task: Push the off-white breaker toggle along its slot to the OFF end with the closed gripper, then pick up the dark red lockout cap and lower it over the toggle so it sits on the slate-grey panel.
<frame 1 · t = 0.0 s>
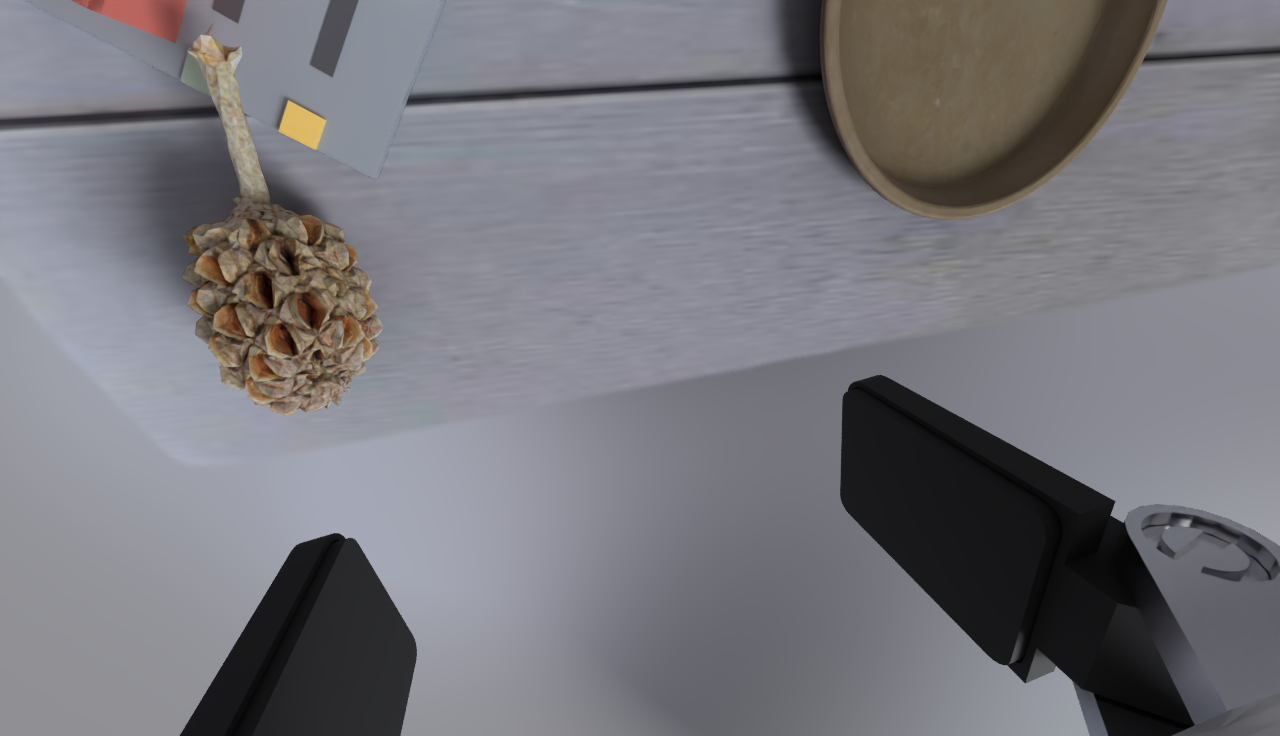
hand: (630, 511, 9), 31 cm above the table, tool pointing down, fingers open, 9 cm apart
pine cone: (303, 234, 32), on the table
plant saucer: (959, 22, 38), on the table
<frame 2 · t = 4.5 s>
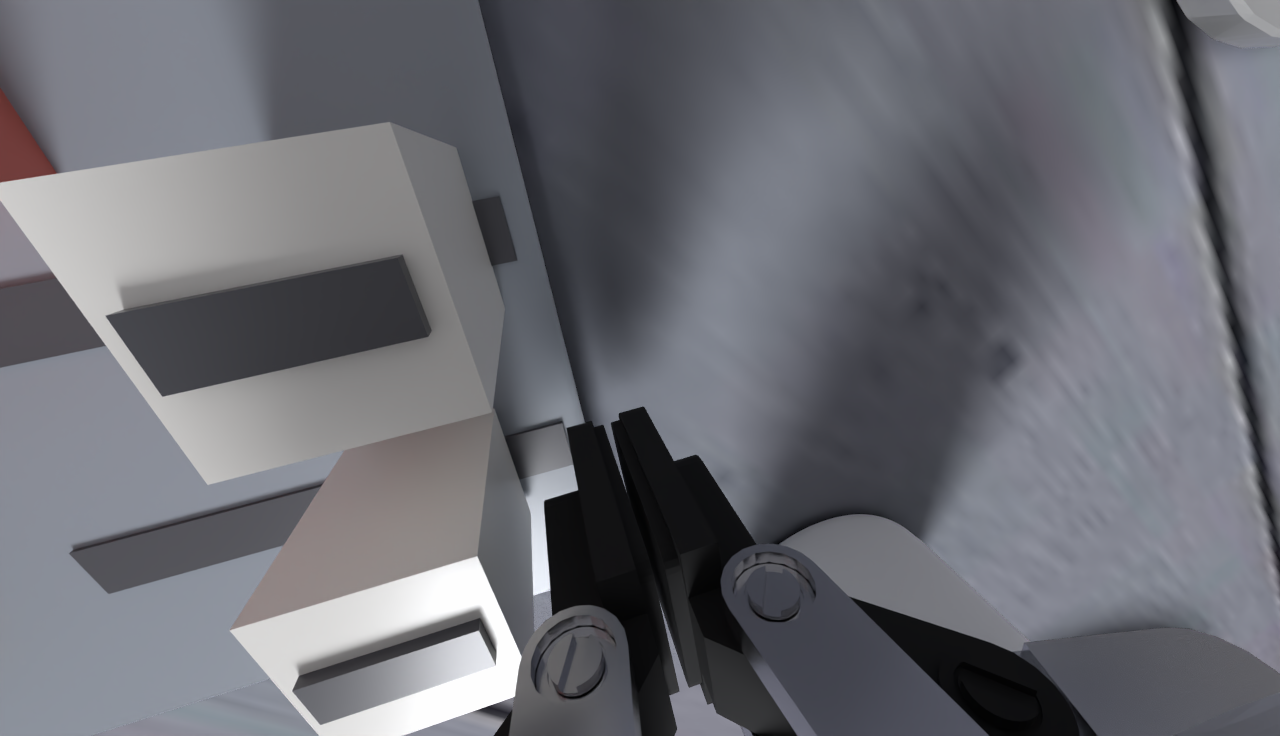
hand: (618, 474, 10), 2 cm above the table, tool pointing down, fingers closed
breaker panel: (155, 320, 9), on the table
breaker toggle: (429, 556, 8), point 3 cm above the table, slide at 0.8 cm, touching gripper
pill bottle: (816, 587, 17), on the table
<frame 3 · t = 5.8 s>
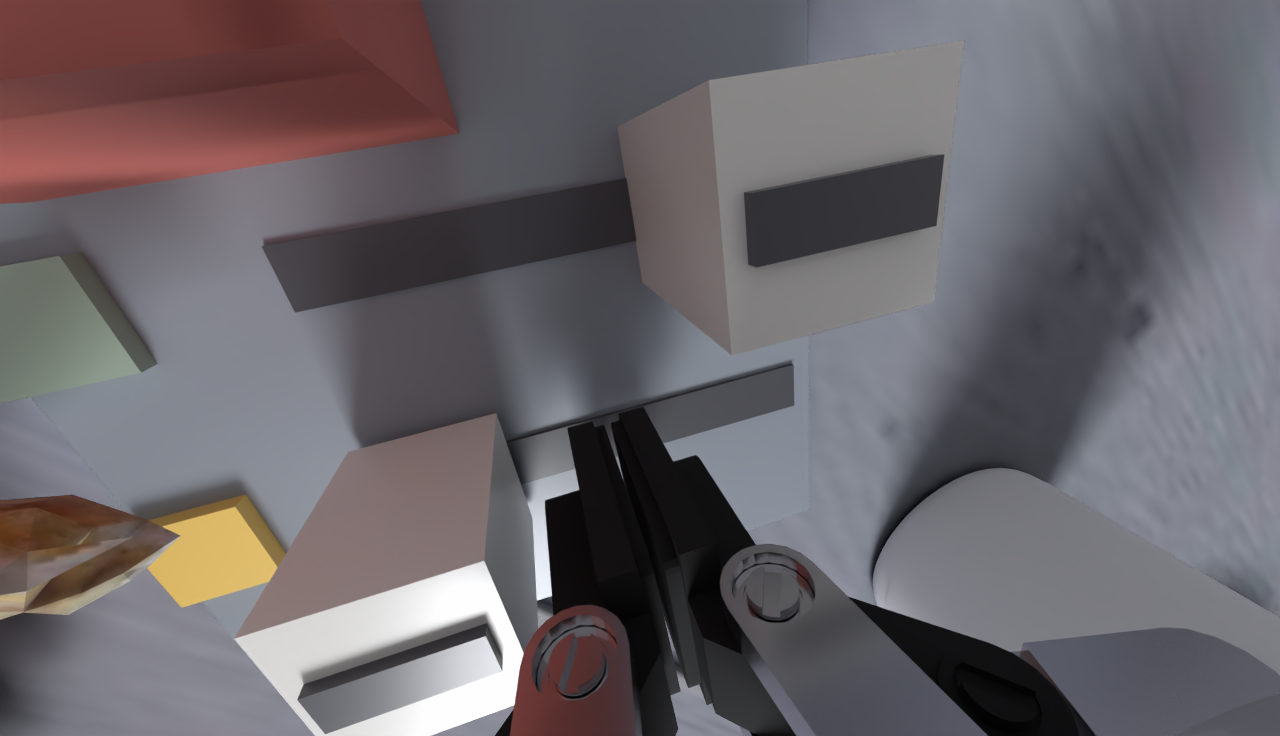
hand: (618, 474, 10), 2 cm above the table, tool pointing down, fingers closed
breaker panel: (466, 262, 10), on the table
breaker toggle: (432, 562, 8), point 4 cm above the table, slide at 6.7 cm, touching gripper
pill bottle: (947, 542, 18), on the table
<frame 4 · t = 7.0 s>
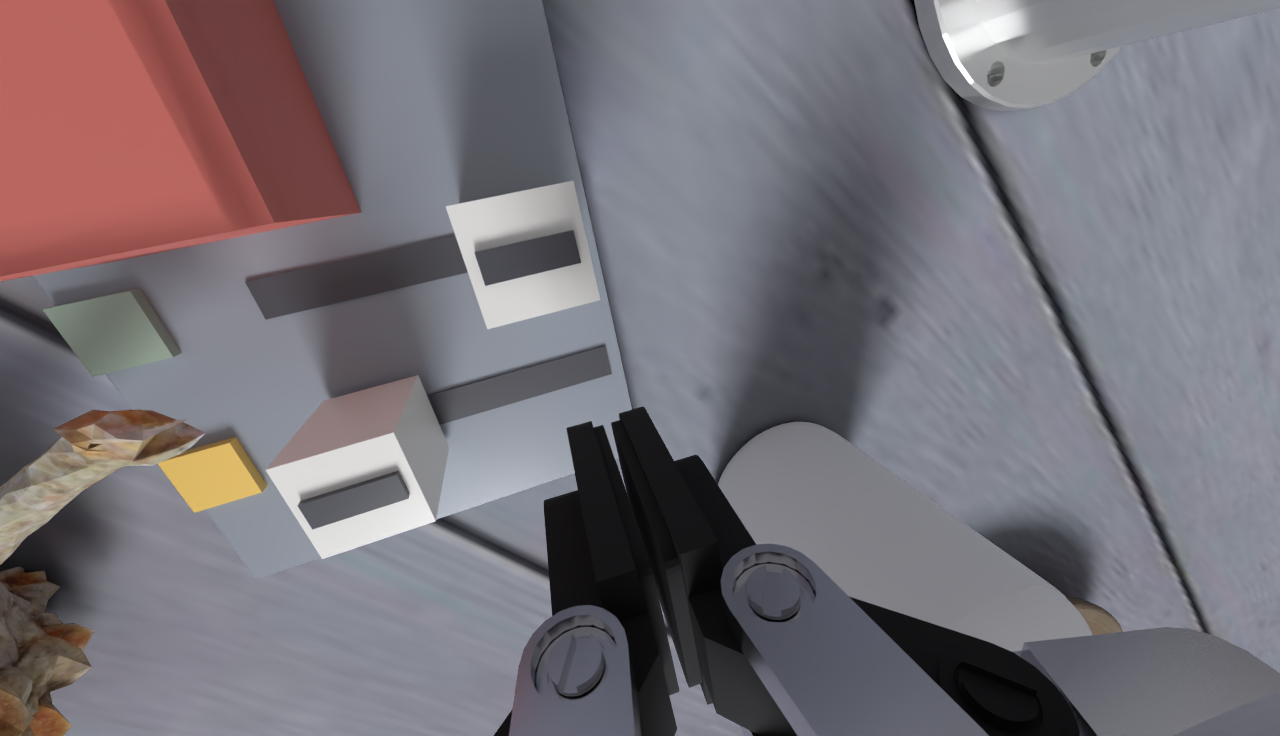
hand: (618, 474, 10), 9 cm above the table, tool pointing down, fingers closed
breaker panel: (376, 286, 15), on the table
pine cone: (29, 553, 15), on the table
breaker toggle: (374, 458, 14), point 3 cm above the table, slide at 6.0 cm
plant saucer: (920, 707, 38), on the table
pill bottle: (776, 482, 24), on the table
lockout cap: (177, 110, 12), point 1 cm above the table, touching breaker panel
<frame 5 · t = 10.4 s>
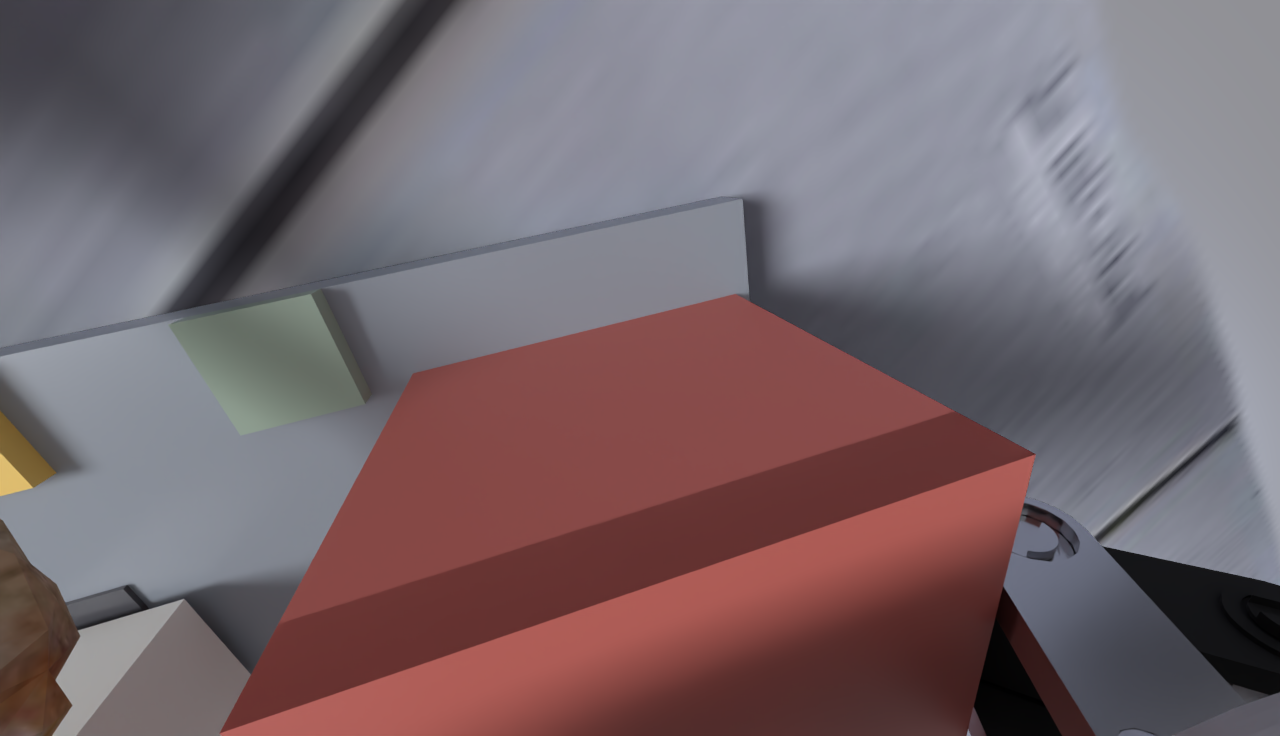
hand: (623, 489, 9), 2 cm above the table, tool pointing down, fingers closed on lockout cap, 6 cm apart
breaker panel: (413, 584, 11), on the table
lockout cap: (614, 463, 10), point 1 cm above the table, touching breaker panel, gripper
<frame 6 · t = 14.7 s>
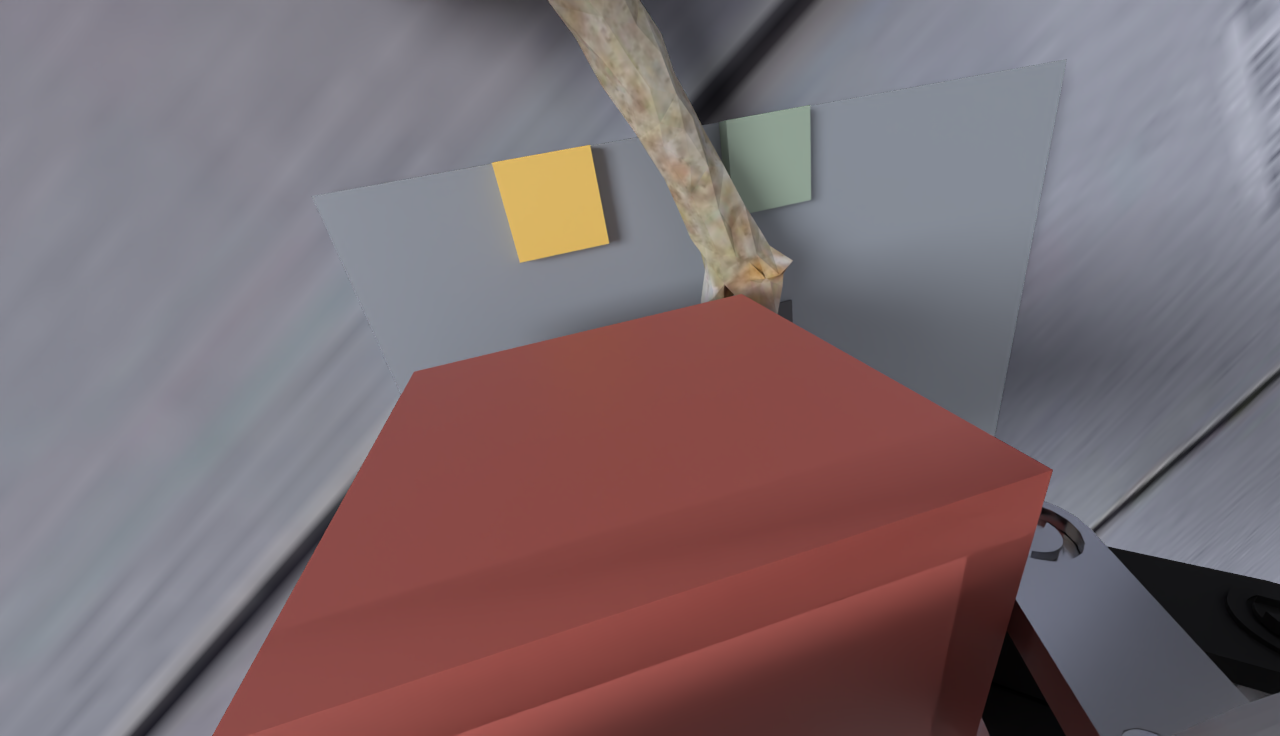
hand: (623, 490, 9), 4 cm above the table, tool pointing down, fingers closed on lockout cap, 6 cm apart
breaker panel: (743, 391, 14), on the table
lockout cap: (617, 464, 10), point 3 cm above the table, touching gripper, pine cone
when the fingers open (3 cm above the table, at t = 15.5 s): lockout cap drops 2 cm, resting on breaker panel, breaker toggle.
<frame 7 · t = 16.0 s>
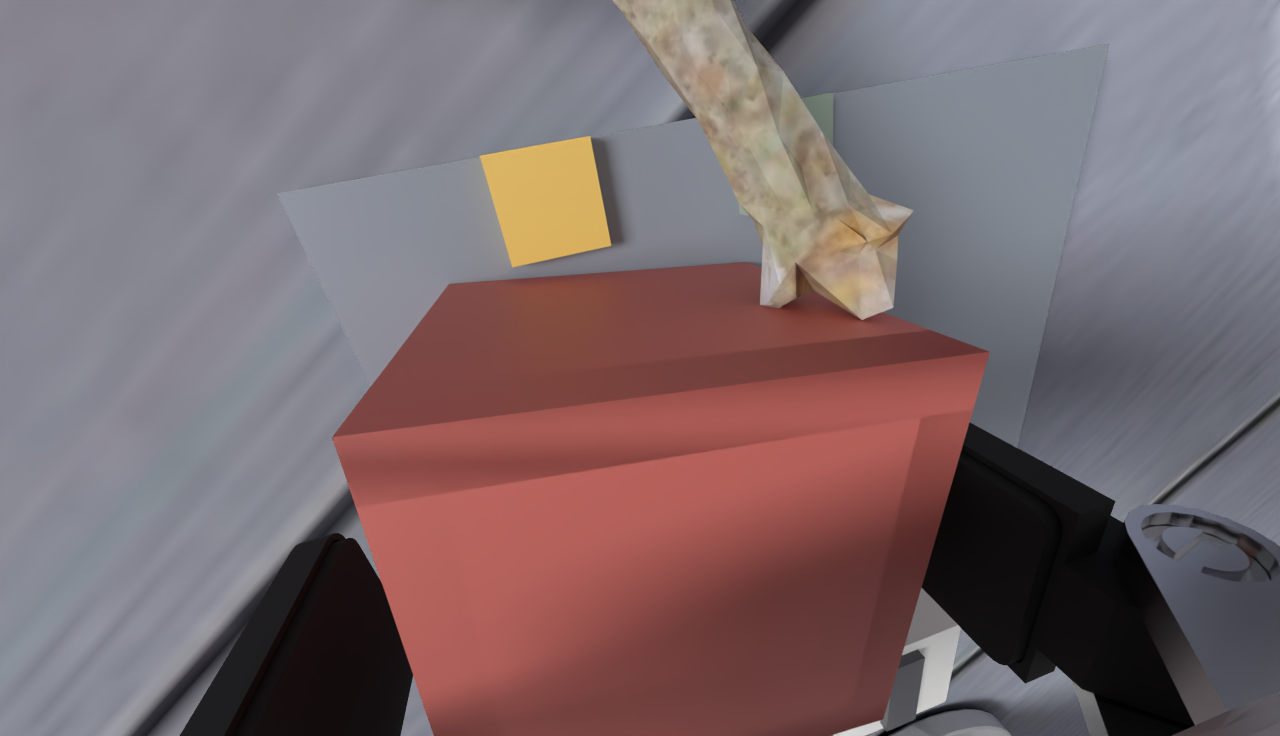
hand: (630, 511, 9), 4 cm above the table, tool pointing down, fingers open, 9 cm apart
breaker panel: (754, 402, 13), on the table
lockout cap: (614, 405, 11), point 1 cm above the table, touching breaker panel, breaker toggle
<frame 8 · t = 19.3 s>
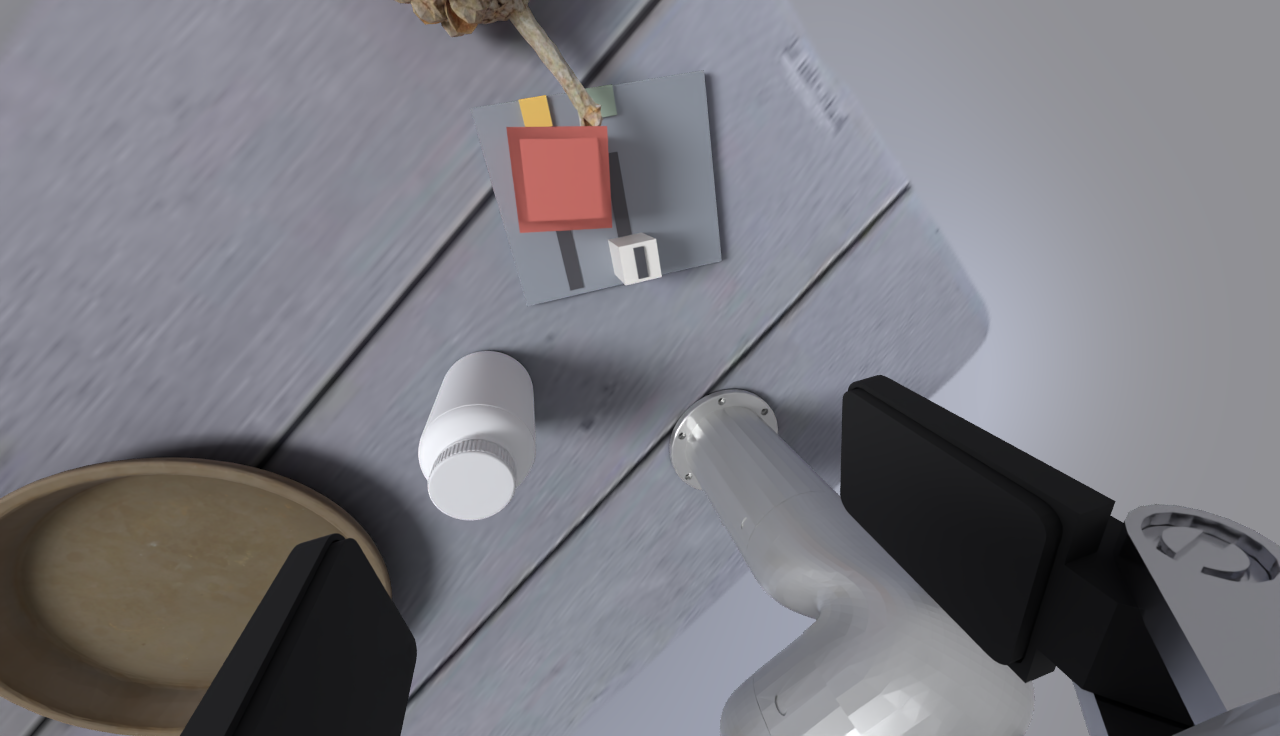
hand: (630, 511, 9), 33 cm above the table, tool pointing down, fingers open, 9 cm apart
breaker panel: (609, 193, 38), on the table
pine cone: (485, 2, 31), on the table
plant saucer: (221, 575, 43), on the table
pill bottle: (488, 387, 42), on the table
lockout cap: (556, 180, 36), point 1 cm above the table, touching breaker panel, breaker toggle
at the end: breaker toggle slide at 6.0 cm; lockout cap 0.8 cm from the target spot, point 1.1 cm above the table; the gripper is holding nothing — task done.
